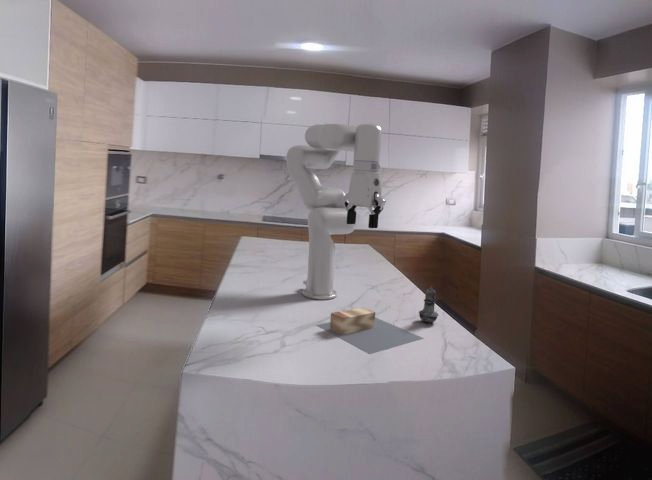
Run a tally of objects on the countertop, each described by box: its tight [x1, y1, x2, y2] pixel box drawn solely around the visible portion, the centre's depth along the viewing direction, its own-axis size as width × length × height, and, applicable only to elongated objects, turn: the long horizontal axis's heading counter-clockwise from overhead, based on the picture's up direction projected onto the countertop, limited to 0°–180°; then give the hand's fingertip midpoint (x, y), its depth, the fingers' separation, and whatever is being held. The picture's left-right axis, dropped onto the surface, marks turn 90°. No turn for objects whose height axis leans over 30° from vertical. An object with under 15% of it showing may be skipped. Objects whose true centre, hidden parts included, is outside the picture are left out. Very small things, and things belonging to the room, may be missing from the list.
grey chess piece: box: [418, 285, 439, 325], centre depth 122 cm, size 6×6×12 cm
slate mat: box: [316, 316, 424, 355], centre depth 112 cm, size 22×20×1 cm
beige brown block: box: [329, 307, 376, 335], centre depth 114 cm, size 12×5×5 cm, turn 127°
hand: (361, 225), depth 122 cm, fingers open, 9 cm apart
